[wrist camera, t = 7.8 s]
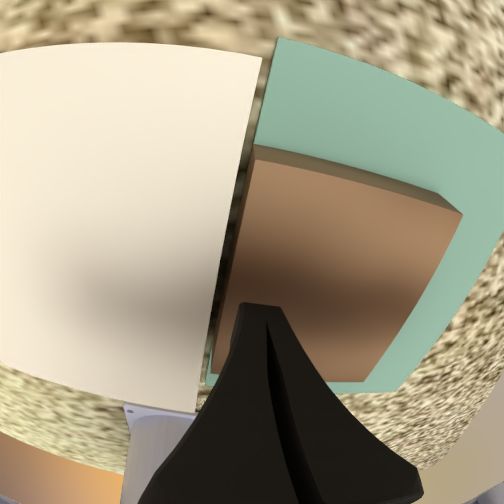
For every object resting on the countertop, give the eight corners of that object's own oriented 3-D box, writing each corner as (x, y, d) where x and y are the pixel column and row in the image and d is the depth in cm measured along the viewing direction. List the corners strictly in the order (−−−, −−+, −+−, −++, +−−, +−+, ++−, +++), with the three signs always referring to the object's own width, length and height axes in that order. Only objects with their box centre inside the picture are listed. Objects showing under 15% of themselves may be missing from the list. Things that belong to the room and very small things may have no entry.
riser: (198, 369, 18) (194, 413, 15) (20, 329, 16) (2, 363, 13) (256, 61, 9) (262, 57, 7) (-18, 60, 8) (-64, 69, 5)
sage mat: (394, 387, 20) (395, 391, 20) (205, 379, 18) (205, 385, 18) (528, 152, 11) (533, 155, 10) (277, 38, 9) (279, 37, 9)
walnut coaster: (354, 354, 17) (363, 382, 15) (212, 342, 16) (210, 373, 14) (438, 193, 12) (463, 214, 10) (252, 143, 11) (255, 159, 9)
